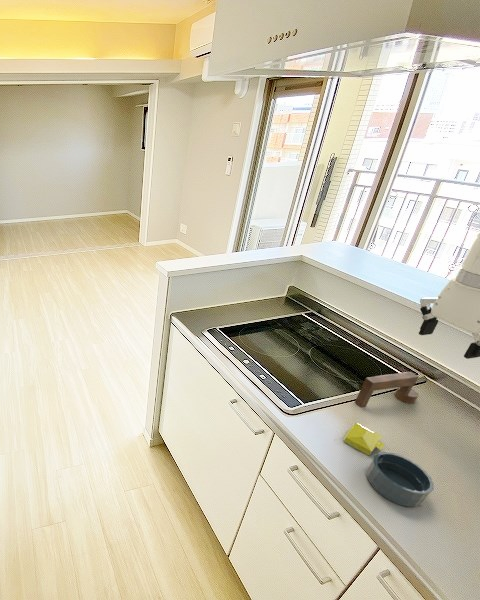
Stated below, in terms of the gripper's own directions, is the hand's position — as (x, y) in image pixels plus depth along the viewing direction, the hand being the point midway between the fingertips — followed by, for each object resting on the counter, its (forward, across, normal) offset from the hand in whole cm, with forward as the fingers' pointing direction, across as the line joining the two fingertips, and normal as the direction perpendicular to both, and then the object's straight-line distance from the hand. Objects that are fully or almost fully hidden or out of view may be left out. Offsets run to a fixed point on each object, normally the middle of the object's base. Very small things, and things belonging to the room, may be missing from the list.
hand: (446, 345), depth 78 cm
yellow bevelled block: (+23, -5, +19) cm, 30 cm away
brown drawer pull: (+23, +6, +1) cm, 24 cm away
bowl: (+23, -16, +22) cm, 36 cm away
